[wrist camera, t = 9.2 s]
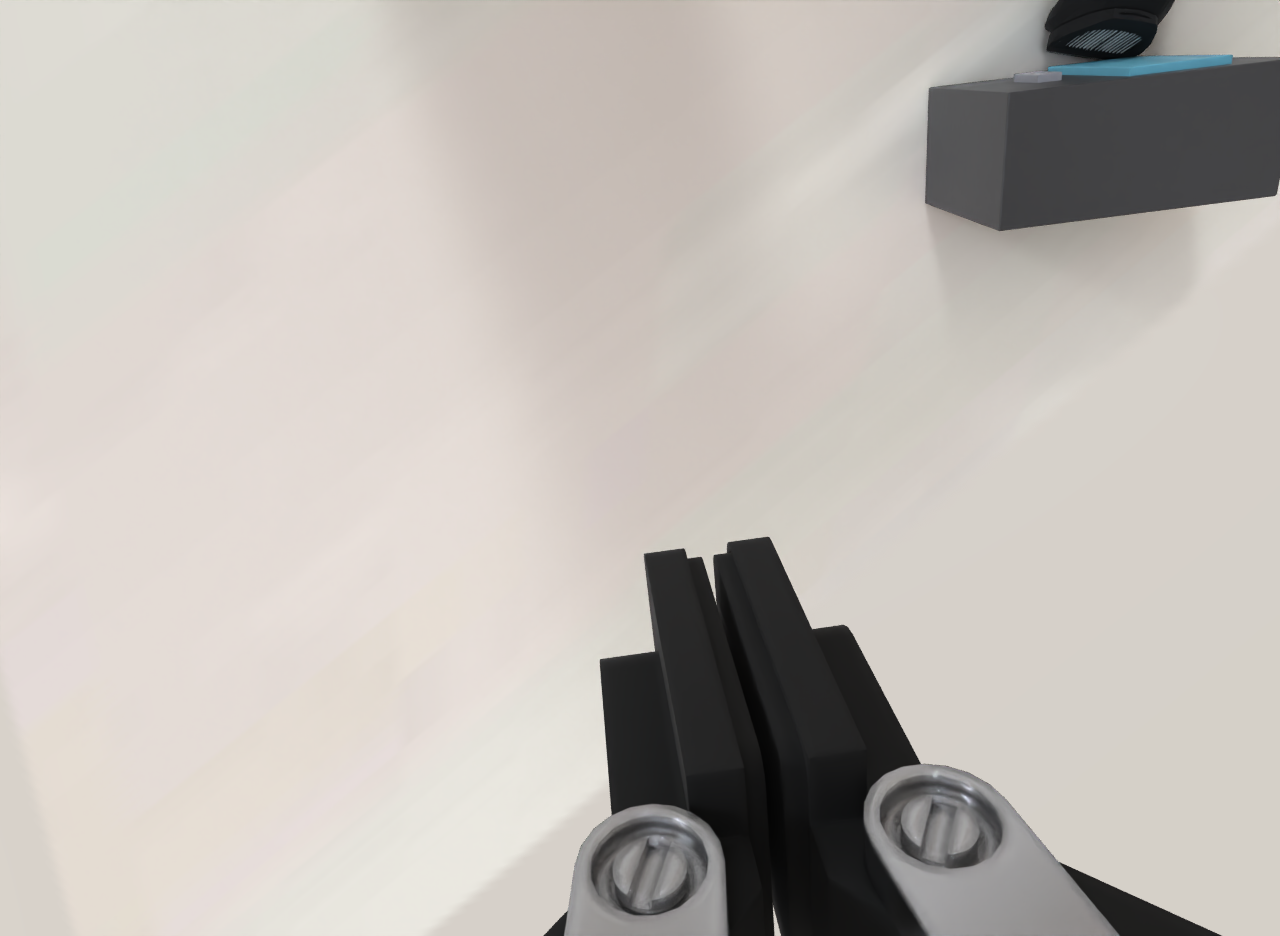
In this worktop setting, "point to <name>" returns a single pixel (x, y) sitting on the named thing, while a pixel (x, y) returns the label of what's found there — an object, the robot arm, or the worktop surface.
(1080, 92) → the dark grey box
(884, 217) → the worktop surface
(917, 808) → the robot arm
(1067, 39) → the electric trimmer
